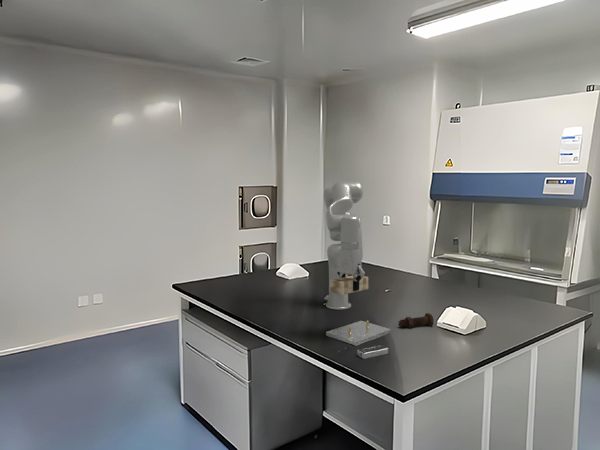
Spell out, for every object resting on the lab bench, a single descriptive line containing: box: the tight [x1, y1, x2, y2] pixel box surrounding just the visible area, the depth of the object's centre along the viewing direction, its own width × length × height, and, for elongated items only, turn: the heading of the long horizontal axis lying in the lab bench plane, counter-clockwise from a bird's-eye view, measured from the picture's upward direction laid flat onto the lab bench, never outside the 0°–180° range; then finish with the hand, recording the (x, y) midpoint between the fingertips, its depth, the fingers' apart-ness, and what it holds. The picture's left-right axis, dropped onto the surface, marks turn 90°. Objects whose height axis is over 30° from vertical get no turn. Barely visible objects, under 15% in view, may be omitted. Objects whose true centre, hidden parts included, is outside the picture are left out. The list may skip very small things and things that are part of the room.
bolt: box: [397, 312, 435, 329], centre depth 198 cm, size 6×5×15 cm
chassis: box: [325, 319, 392, 347], centre depth 188 cm, size 16×22×4 cm
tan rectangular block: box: [330, 275, 369, 295], centre depth 190 cm, size 6×16×5 cm, turn 131°
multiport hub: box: [356, 344, 389, 360], centre depth 167 cm, size 4×11×2 cm, turn 117°
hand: (349, 288), depth 190 cm, fingers closed on tan rectangular block, 6 cm apart
